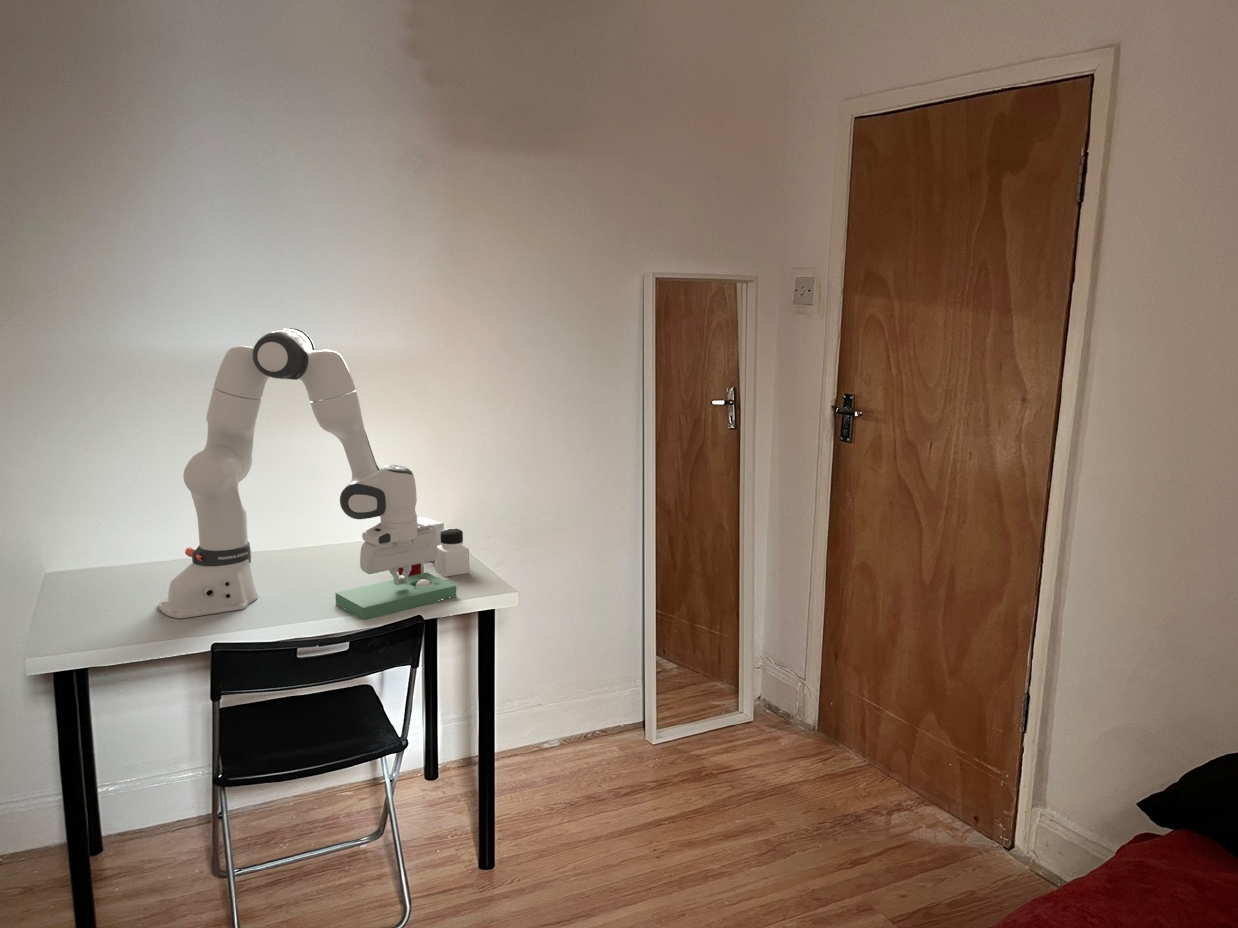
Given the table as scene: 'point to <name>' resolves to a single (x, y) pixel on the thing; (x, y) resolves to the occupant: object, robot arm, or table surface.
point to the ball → (423, 583)
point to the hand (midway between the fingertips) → (400, 583)
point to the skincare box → (437, 525)
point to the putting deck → (394, 595)
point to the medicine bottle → (452, 553)
